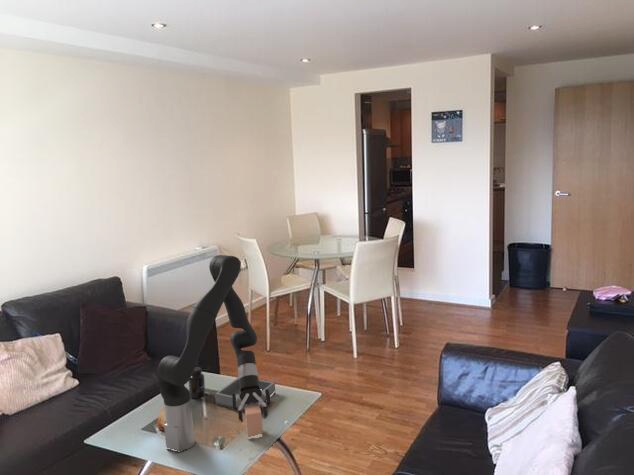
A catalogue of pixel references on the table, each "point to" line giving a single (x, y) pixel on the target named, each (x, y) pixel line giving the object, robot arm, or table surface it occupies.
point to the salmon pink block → (253, 420)
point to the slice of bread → (161, 420)
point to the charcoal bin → (226, 393)
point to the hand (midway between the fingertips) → (253, 419)
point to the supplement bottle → (197, 384)
